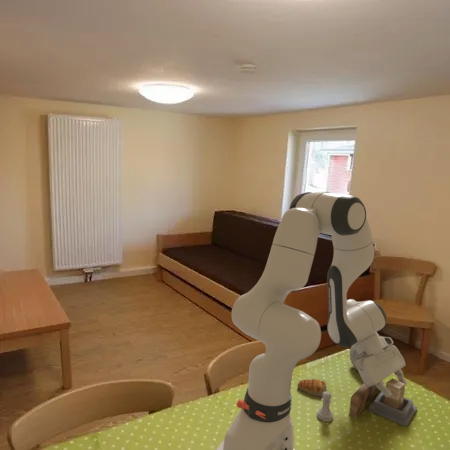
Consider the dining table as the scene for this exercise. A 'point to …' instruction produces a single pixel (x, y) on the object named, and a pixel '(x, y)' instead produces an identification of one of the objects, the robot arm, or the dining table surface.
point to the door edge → (361, 399)
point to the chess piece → (325, 408)
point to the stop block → (395, 394)
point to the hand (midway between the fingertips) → (397, 390)
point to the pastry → (313, 386)
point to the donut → (353, 356)
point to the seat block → (394, 410)
